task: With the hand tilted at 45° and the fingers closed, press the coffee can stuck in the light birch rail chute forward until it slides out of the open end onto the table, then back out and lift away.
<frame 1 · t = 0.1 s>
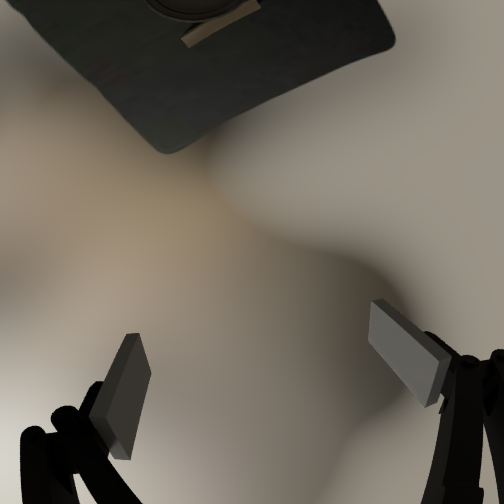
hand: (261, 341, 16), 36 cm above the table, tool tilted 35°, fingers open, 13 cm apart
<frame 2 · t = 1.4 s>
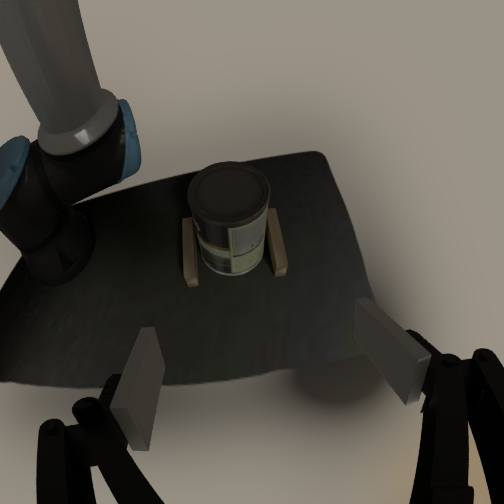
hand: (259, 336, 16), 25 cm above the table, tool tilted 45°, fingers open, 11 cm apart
chute: (233, 253, 48), on the table
coffee can: (232, 248, 49), on the table
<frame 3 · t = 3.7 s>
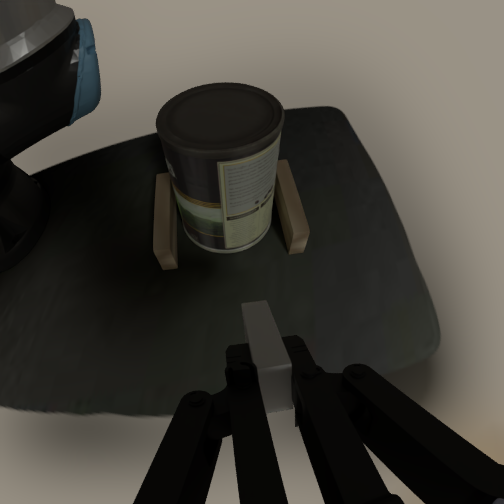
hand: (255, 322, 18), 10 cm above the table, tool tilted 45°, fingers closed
chute: (228, 222, 34), on the table
coffee can: (227, 216, 34), on the table
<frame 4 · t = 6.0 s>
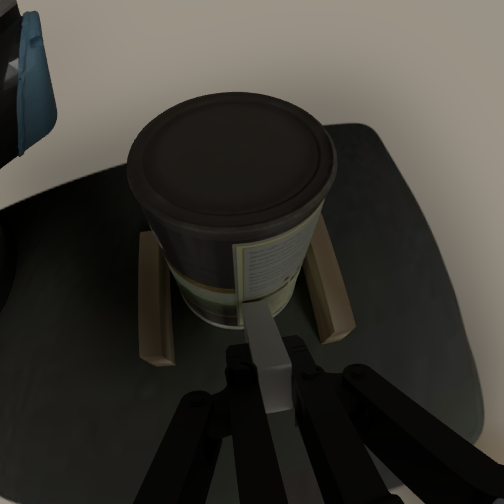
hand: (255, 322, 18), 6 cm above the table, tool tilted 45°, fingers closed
chute: (240, 298, 25), on the table
coffee can: (237, 274, 26), on the table, touching gripper
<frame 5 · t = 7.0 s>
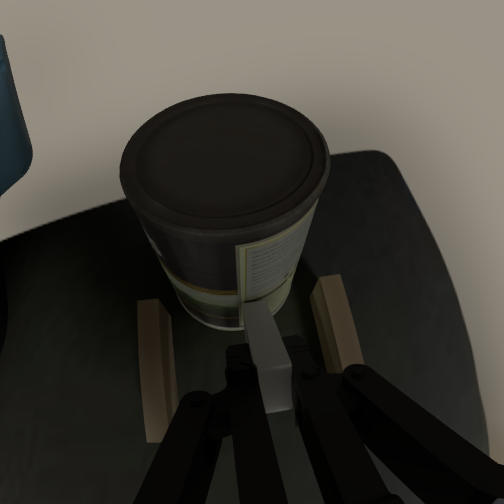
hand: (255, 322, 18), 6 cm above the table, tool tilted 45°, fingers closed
chute: (250, 367, 22), on the table
coffee can: (233, 275, 26), on the table, touching gripper
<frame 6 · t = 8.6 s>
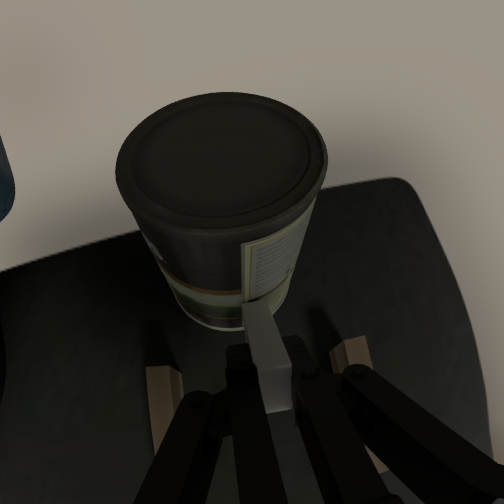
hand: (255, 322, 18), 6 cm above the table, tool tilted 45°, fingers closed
chute: (266, 427, 19), on the table
coffee can: (231, 275, 26), on the table, touching gripper
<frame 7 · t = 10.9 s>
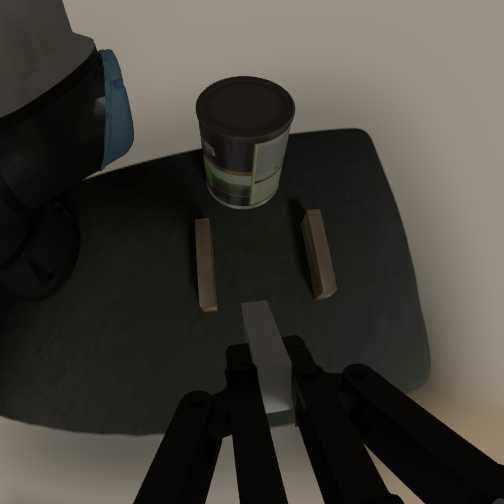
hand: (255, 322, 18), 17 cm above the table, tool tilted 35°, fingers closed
chute: (261, 265, 37), on the table
coffee can: (243, 179, 42), on the table
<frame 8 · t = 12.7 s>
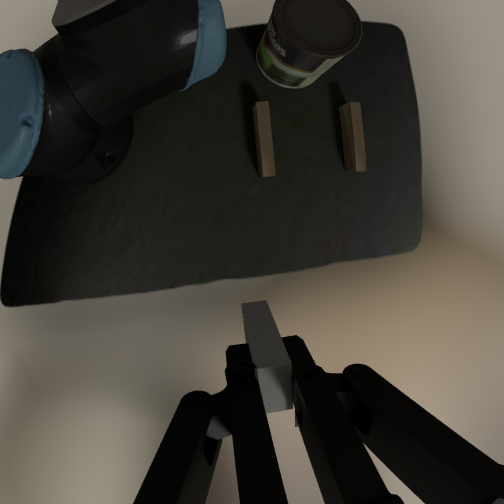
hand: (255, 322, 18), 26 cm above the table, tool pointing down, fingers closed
chute: (306, 139, 41), on the table
coffee can: (290, 59, 38), on the table
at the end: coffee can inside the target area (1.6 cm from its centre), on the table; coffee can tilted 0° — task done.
